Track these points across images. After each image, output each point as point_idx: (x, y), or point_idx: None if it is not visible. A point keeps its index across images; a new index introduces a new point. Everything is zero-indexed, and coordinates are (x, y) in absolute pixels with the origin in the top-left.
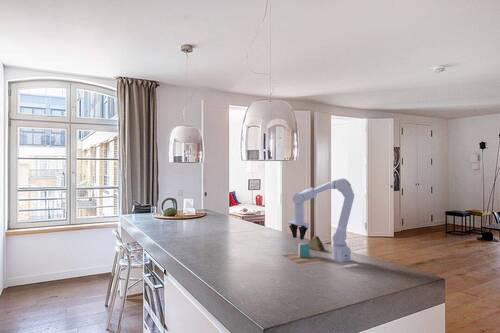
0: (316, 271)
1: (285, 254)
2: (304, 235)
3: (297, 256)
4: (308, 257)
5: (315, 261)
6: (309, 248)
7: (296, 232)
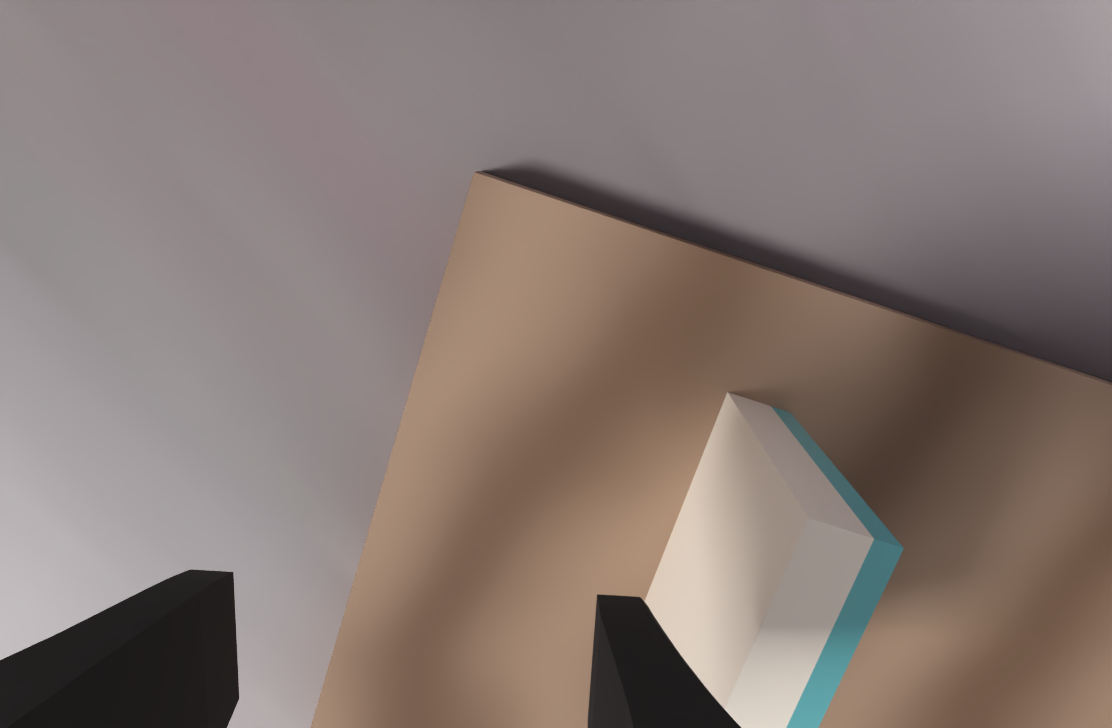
0: None
1: (341, 668)
2: (693, 684)
3: None
4: None
5: (1104, 614)
6: (848, 482)
7: (104, 690)
